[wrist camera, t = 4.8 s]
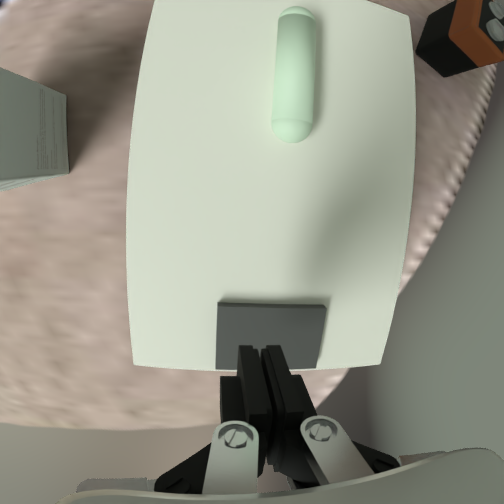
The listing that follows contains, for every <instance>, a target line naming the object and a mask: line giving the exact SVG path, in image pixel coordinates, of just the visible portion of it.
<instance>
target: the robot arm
mask: <svg viewBox="0 0 504 504" xmlns="http://www.w3.org/2000/svg"><path fill="white" fill-rule="evenodd" d="M220 416H221V424H220V425H219V426H218V427H217V428H216V429H215V431H214V433H213V438H212V442H211V443H210V444H209V445H207V446H206V447H204V448H203V449H201V450H200V451H198V452H197V453H196V454H194V455H192V456H191V457H189V458H188V459H186V460H185V461H183V462H182V463H180V464H179V465H177V466H175V467H174V468H172V469H171V470H169V471H168V472H166V473H164V474H163V475H161V476H160V477H159V478H158V479H154V480H147V478H124V479H87V480H85V481H83V482H81V483H80V484H79V486H78V487H77V491H76V493H74V494H70V495H67V496H65V497H63V498H61V499H60V500H59V501H58V502H57V503H56V504H504V460H503V459H502V458H501V457H500V456H499V455H497V454H496V453H495V452H493V451H492V450H489V449H486V448H464V449H458V450H453V451H449V452H445V451H437V452H429V453H422V454H414V455H404V456H399V457H398V458H397V459H395V458H394V457H392V456H390V455H388V454H385V453H382V452H380V451H377V450H374V449H371V448H369V447H367V446H364V445H362V444H359V443H357V442H354V441H352V440H350V438H349V437H348V436H347V434H346V433H345V431H344V430H343V428H342V427H341V426H340V424H339V423H338V422H337V421H335V420H334V419H332V418H329V417H326V416H317V413H316V411H315V408H314V406H313V403H312V401H311V399H310V396H309V394H308V391H307V389H306V386H305V384H304V381H303V379H302V377H301V375H291V373H290V370H289V367H288V365H287V362H286V359H285V356H284V354H283V351H282V348H281V346H280V345H266V348H263V349H261V354H260V356H259V352H258V349H253V346H252V345H239V346H238V361H237V376H220ZM265 458H267V463H268V465H273V467H274V472H281V473H282V474H284V475H286V476H287V481H288V484H289V486H290V489H291V490H289V491H281V492H269V493H257V478H258V477H259V476H260V475H261V474H262V472H263V467H264V464H265Z"/></svg>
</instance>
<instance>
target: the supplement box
mask: <svg viewBox="0 0 504 504" xmlns="http://www.w3.org/2000/svg"><path fill="white" fill-rule="evenodd" d="M67 174H69V164H68V148H67V125H66V95H64V94H62V93H60V92H58V91H55V90H53V89H51V88H49V87H46V86H44V85H42V84H39V83H37V82H35V81H32V80H30V79H27V78H25V77H23V76H20V75H18V74H15V73H13V72H10V71H8V70H5V69H3V68H1V67H0V191H6V190H10V189H13V188H17V187H20V186H24V185H28V184H32V183H35V182H39V181H43V180H47V179H51V178H55V177H59V176H63V175H67Z"/></svg>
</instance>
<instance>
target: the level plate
mask: <svg viewBox="0 0 504 504" xmlns="http://www.w3.org/2000/svg"><path fill="white" fill-rule="evenodd" d="M415 143H416V95H415V73H414V59H413V47H412V38H411V29H410V22H409V16H407V15H404V14H402V13H399V12H397V11H394V10H392V9H389V8H387V7H384V6H381V5H378V4H375V3H372V2H369V1H366V0H155V2H154V6H153V10H152V14H151V18H150V22H149V26H148V31H147V36H146V40H145V45H144V50H143V56H142V61H141V67H140V72H139V79H138V85H137V92H136V99H135V106H134V114H133V123H132V132H131V142H130V154H129V167H128V184H127V210H126V266H127V292H128V309H129V322H130V334H131V344H132V354H133V362H134V365H139V366H149V367H160V368H173V369H188V370H208V371H237V361H238V346H239V345H252V346H253V349H258V352H259V356H260V354H261V349H263V348H266V345H280V346H281V348H282V351H283V354H284V356H285V359H286V362H287V365H288V367H289V370H290V371H300V370H320V369H335V368H347V367H358V366H368V365H376V364H380V363H381V359H382V356H383V352H384V348H385V345H386V341H387V337H388V333H389V329H390V325H391V321H392V317H393V312H394V308H395V304H396V299H397V294H398V289H399V284H400V279H401V274H402V268H403V262H404V256H405V250H406V244H407V237H408V229H409V221H410V213H411V204H412V193H413V181H414V166H415Z"/></svg>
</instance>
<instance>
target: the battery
mask: <svg viewBox="0 0 504 504" xmlns="http://www.w3.org/2000/svg"><path fill="white" fill-rule="evenodd" d="M416 54H417V55H418V56H420V57H421V58H422V59H423V60H424V61H426V62H427V63H428V64H429V65H430V66H431V67H433V68H434V69H435V70H436V71H437V72H438V73H439V74H441V75H442V76H443V77H449V76H452V75H455V74H458V73H462V72H465V71H468V70H472V69H475V68H479V67H483V66H486V65H490V64H494V63H498V62H501V61H504V8H503V6H502V5H501V4H500V3H499V2H497V1H495V2H494V1H493V0H455V1H453V2H451V3H449V4H447V5H446V6H444V7H442V8H441V9H439V10H437V11H435V12H434V13H432V14H430V15H429V16H428V18H427V21H426V24H425V27H424V30H423V32H422V35H421V38H420V41H419V43H418V46H417V49H416Z"/></svg>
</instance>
